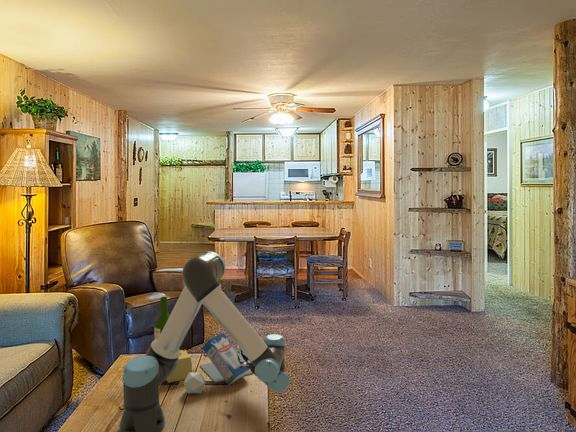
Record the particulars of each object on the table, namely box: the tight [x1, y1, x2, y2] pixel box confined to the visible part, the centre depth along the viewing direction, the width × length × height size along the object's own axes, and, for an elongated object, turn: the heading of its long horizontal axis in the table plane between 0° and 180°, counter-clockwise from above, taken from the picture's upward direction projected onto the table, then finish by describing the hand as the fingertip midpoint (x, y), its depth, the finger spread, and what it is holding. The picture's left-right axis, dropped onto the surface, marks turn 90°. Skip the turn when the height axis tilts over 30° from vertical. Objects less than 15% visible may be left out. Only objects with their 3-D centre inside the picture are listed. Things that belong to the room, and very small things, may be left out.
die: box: [183, 371, 206, 395], centre depth 177 cm, size 8×9×10 cm
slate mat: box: [199, 362, 254, 384], centre depth 198 cm, size 18×20×1 cm
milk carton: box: [201, 332, 250, 386], centre depth 189 cm, size 10×6×20 cm
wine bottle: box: [153, 296, 170, 340], centre depth 202 cm, size 9×9×32 cm
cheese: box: [166, 349, 193, 384], centre depth 191 cm, size 10×11×10 cm
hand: (238, 348), depth 187 cm, fingers closed
